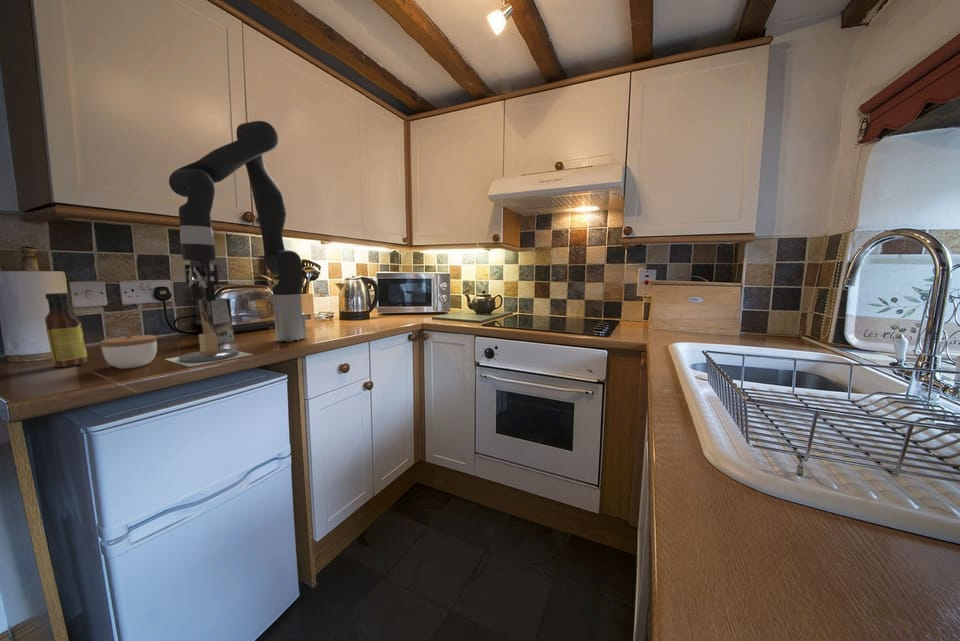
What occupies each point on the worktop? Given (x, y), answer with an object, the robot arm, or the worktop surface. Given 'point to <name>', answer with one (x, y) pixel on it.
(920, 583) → the worktop surface
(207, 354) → the lid
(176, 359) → the mat
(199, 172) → the robot arm
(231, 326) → the coffee box
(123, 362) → the lidded jar
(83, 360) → the sauce bottle
